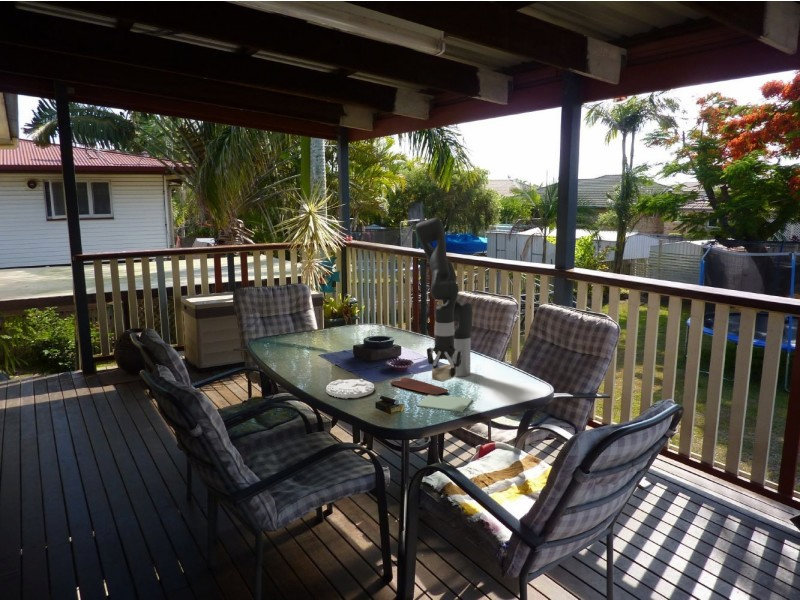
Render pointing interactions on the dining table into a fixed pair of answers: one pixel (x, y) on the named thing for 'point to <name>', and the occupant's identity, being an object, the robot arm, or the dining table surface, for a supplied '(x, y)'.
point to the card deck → (442, 373)
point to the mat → (445, 402)
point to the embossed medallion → (350, 388)
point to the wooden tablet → (419, 386)
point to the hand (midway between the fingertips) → (444, 375)
